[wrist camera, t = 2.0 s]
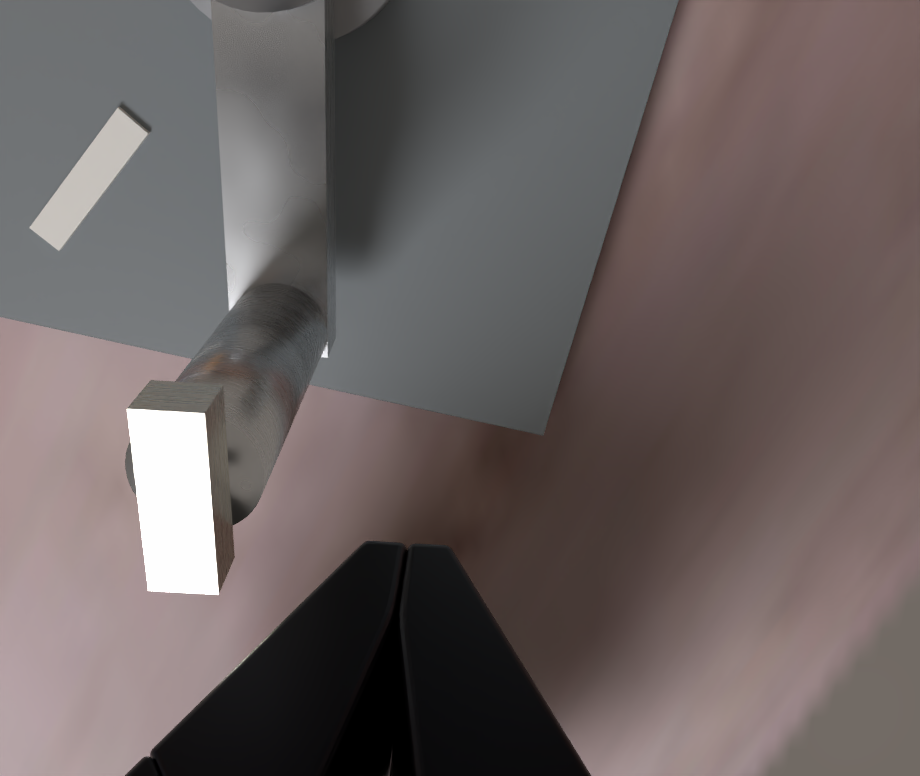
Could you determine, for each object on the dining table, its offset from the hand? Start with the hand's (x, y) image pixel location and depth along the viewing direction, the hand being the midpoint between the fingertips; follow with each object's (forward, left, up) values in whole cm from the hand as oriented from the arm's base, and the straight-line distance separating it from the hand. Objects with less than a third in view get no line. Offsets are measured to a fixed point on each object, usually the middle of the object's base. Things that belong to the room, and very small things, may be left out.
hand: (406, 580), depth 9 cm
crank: (+3, +3, -9) cm, 10 cm away
